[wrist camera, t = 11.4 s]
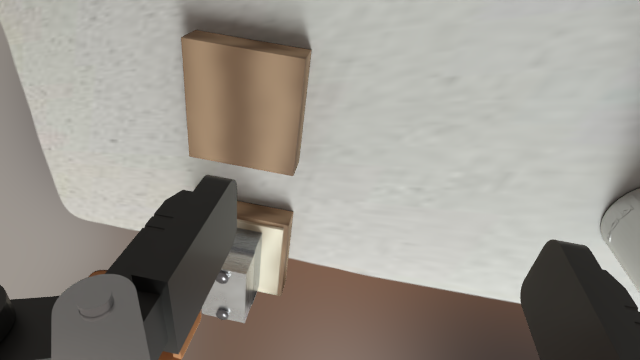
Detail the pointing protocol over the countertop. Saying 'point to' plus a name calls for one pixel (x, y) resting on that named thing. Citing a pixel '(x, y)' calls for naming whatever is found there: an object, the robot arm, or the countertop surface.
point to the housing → (236, 279)
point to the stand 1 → (245, 100)
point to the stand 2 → (269, 242)
